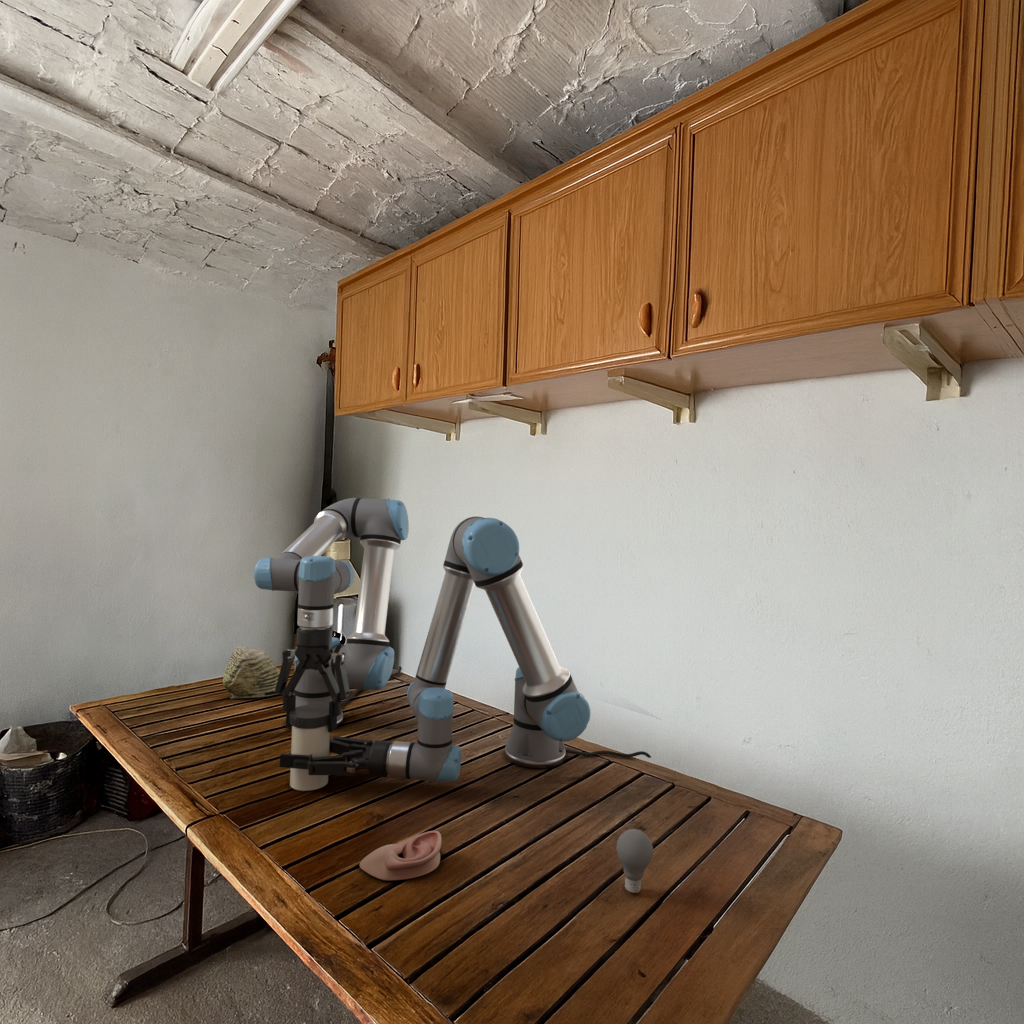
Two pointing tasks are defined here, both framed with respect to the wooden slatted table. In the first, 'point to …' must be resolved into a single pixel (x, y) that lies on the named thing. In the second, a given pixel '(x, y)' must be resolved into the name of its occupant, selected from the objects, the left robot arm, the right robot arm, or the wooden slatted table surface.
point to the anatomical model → (405, 858)
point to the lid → (309, 716)
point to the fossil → (250, 674)
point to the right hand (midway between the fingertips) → (289, 752)
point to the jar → (307, 744)
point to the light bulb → (634, 857)
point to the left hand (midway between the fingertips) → (311, 727)
